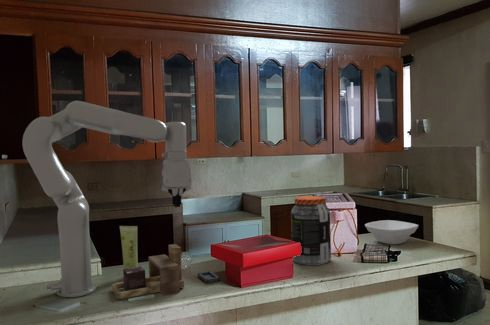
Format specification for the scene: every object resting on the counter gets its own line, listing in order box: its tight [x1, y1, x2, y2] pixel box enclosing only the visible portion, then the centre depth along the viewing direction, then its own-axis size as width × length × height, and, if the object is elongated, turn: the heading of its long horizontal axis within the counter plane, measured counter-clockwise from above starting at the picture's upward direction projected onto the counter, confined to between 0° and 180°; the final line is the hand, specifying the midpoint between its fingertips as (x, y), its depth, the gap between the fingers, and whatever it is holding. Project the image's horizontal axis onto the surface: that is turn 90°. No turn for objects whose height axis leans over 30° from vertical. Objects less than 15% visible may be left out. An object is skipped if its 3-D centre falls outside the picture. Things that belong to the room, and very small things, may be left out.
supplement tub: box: [290, 195, 332, 266], centre depth 172 cm, size 16×16×26 cm
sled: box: [111, 243, 185, 300], centre depth 144 cm, size 22×11×13 cm, turn 116°
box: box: [122, 265, 146, 291], centre depth 143 cm, size 6×6×7 cm
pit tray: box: [197, 270, 221, 284], centre depth 154 cm, size 5×9×1 cm, turn 26°
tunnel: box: [148, 254, 181, 296], centre depth 146 cm, size 6×16×9 cm, turn 26°
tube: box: [119, 225, 139, 269], centre depth 157 cm, size 6×5×20 cm
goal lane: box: [127, 293, 155, 303], centre depth 142 cm, size 8×18×1 cm, turn 26°
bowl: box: [364, 219, 419, 245], centre depth 199 cm, size 21×21×9 cm
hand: (176, 206), depth 154 cm, fingers closed
